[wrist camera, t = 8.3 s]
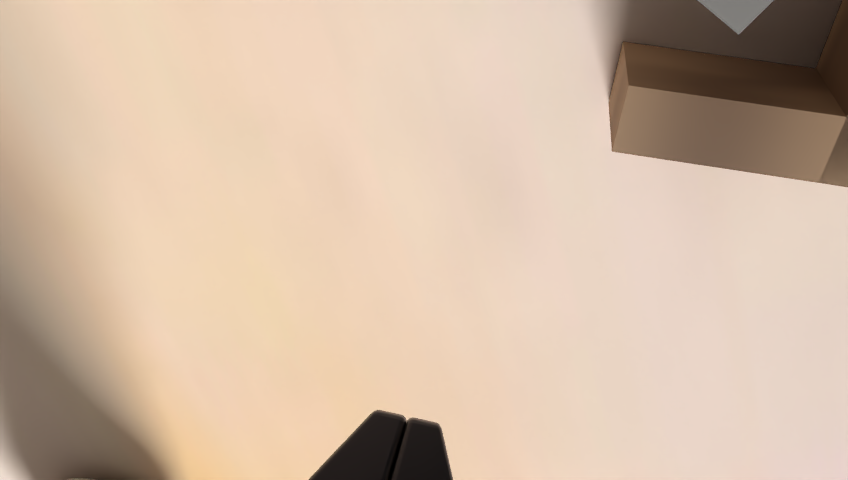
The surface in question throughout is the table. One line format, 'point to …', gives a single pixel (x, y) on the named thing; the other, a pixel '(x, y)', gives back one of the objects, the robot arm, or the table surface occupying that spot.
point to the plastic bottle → (81, 479)
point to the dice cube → (736, 11)
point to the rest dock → (736, 110)
